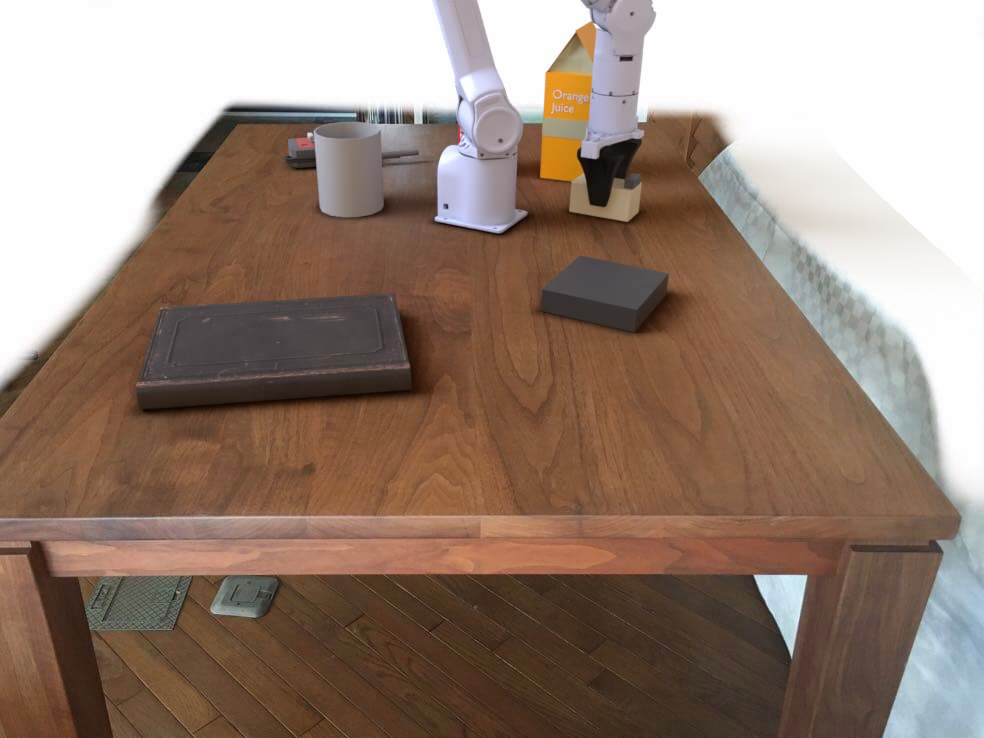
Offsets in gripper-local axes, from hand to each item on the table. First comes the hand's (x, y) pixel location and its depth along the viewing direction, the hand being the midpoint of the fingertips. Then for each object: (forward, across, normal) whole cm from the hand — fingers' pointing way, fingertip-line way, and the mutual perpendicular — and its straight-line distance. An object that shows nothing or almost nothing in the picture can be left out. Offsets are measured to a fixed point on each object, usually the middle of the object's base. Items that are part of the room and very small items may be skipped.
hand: (604, 200), depth 116 cm
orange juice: (+2, +14, +10) cm, 17 cm away
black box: (+2, -26, -10) cm, 28 cm away
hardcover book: (+2, -52, +12) cm, 53 cm away
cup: (+2, -14, +30) cm, 33 cm away
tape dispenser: (+2, 0, 0) cm, 2 cm away
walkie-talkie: (+2, +3, +42) cm, 42 cm away
